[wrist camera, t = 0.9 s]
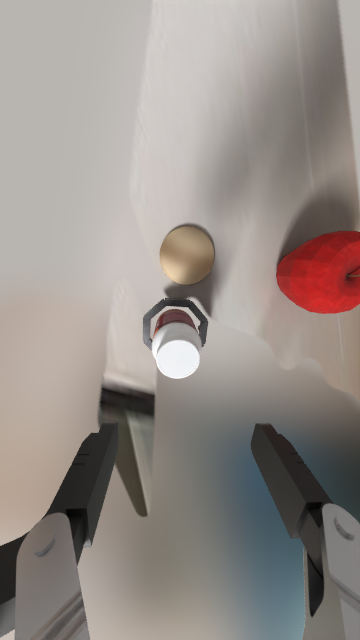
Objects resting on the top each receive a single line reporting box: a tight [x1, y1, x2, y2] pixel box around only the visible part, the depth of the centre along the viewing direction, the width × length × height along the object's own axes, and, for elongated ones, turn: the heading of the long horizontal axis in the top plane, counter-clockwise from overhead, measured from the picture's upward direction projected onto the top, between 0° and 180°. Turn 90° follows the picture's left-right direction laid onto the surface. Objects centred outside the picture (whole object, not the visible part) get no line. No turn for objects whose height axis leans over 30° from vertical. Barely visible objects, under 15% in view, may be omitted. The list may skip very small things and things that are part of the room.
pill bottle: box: [152, 309, 202, 379], centre depth 23 cm, size 6×6×11 cm
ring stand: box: [143, 298, 208, 351], centre depth 27 cm, size 10×10×2 cm
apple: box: [276, 231, 360, 314], centre depth 22 cm, size 10×10×11 cm
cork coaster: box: [160, 226, 214, 285], centre depth 25 cm, size 8×8×1 cm
